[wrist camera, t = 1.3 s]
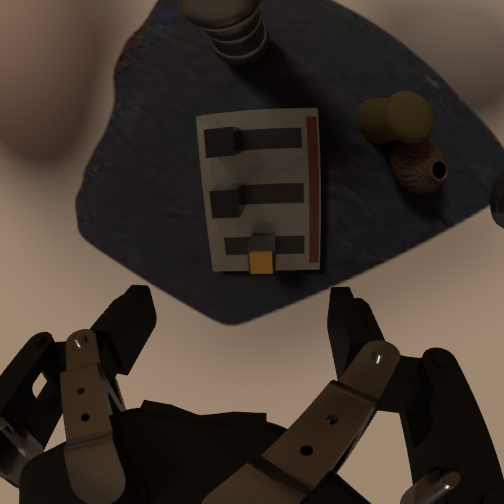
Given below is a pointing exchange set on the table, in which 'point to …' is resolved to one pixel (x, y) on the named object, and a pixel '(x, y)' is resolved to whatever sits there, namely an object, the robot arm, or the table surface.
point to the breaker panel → (262, 185)
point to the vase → (419, 166)
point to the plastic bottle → (230, 28)
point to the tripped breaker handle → (262, 254)
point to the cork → (395, 118)
